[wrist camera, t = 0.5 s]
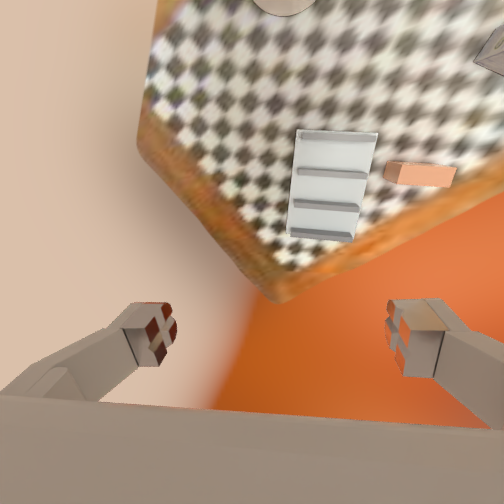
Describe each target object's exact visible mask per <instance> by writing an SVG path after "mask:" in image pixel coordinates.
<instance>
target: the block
mask: <svg viewBox="0 0 504 504" xmlns="http://www.w3.org/2000/svg"><path fill="white" fill-rule="evenodd" d="M456 169H457V168H456V167H450V166H445V165H439V164H432V163H415V162H397V161H387V164H386V168H385V172H384V176H383V178H384V179H387V180H389V181H391V182H394V183H396V184H406V185H421V186H436V187H450V185H451V182H452V180H453V177H454V174H455V172H456Z"/></svg>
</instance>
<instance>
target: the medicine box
mask: <svg viewBox="0 0 504 504" xmlns="http://www.w3.org/2000/svg"><path fill="white" fill-rule="evenodd" d="M474 63H477V64H479V65H481V66H483V67H485V68H487V69H490V70H492V71H494V72H496V73H498V74H501V75H503V76H504V25H502V26H500V27H498V28H496V30H495V31H494V32H493V34H492V35H491V37H490V38H489V40H488V41H487V43H486V44H485V46H484V47H483V49H482V50H481V51H480V53H479V54H478V56H477V57H476V59H475V60H474Z"/></svg>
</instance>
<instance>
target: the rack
mask: <svg viewBox="0 0 504 504" xmlns="http://www.w3.org/2000/svg"><path fill="white" fill-rule="evenodd" d="M377 136H378V133H368V132H345V131H323V130H300V129H297V132H296V141H295V151H294V160H293V169H292V179H291V188H290V197H289V206H288V216H287V225H286V234H291V236H290V237H299V238H310V239H320V240H331V241H342V242H352V240H353V239H354V235H355V230H356V226H357V222H358V218H359V213H360V209H361V205H362V200H363V196H364V192H365V188H366V183H367V179H368V175H369V171H370V166H371V162H372V158H373V153H374V149H375V145H376V141H377Z"/></svg>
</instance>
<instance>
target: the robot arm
mask: <svg viewBox="0 0 504 504" xmlns="http://www.w3.org/2000/svg"><path fill="white" fill-rule="evenodd" d="M253 1H254V2H255V3H256V4H257V5H258V6H259V7H260V8H261V9H262V10H264V11H266V12H267V13H270V14H272V15H276V16H290V15H294V14H297V13H299V12H301V11H303V10H305V9H306V8H308V7H309V6H310V5H311V4H313V3H314V2H315V1H316V0H253ZM386 310H387V312H388V314H389V317H388V318H387V319H386V320H385V336H386V340H387V343H388V345H389V347H390V349H392V350H393V351H395V352H396V353H395V361H396V362H397V365H398V367H399V369H400V371H401V373H402V375H403V376H408V377H424V378H434V379H433V380H435V381H436V382H437V383H438V384H440V385H441V386H442V387H443V388H444V389H445V390H447V391H448V392H449V393H450V394H451V395H452V396H454V397H455V398H456V399H457V400H458V401H460V402H461V403H462V404H463V405H464V406H466V407H467V408H468V409H469V410H470V411H471V412H473V413H474V414H475V415H476V416H477V417H479V418H480V419H481V420H482V421H483V422H485V423H486V424H487V425H488V426H489V427H490V428H492V429H479V428H464V427H450V426H436V425H421V424H407V423H392V422H378V421H365V420H351V419H336V418H322V417H308V416H294V415H281V414H265V413H252V412H238V411H224V410H209V409H195V408H180V407H167V406H151V405H139V404H138V405H137V404H124V403H110V402H98V401H99V400H100V399H101V398H102V397H104V396H105V395H106V394H107V393H108V392H110V391H111V390H112V389H113V388H114V387H116V386H117V385H118V384H119V383H120V382H122V381H123V380H124V379H125V378H126V377H128V376H129V375H130V374H131V373H133V372H134V371H135V370H136V369H137V368H138V367H159V366H160V364H161V363H162V361H163V359H164V357H165V356H166V354H167V349H166V348H167V347H169V346H170V345H171V344H173V342H174V340H175V338H176V334H177V324H176V321H175V319H174V318H173V317H172V316H171V313H172V308H171V305H170V304H169V303H166V302H145V303H144V302H134V303H131V304H130V305H129V306H128V307H127V308H126V309H125V310H124V311H123V312H122V313H121V314H120V315H119V316H118V317H117V318H116V319H115V320H114V321H113V322H112V323H111V324H110V325H109V326H108V327H107V328H106V329H101V330H99V331H97V332H95V333H93V334H91V335H89V336H87V337H85V338H83V339H81V340H79V341H77V342H75V343H73V344H71V345H69V346H67V347H65V348H63V349H61V350H59V351H57V352H56V353H53V354H51V355H49V356H48V357H45V358H43V359H42V360H40V361H38V362H36V363H34V364H32V365H30V366H29V367H28V368H27V369H26V370H25V371H23V372H22V373H21V374H20V375H19V376H18V377H16V378H15V379H14V380H13V381H12V382H11V383H10V384H8V385H7V386H6V387H5V388H4V389H3V390H2V391H0V504H504V344H503V343H501V342H499V341H497V340H495V339H492V338H490V337H488V336H486V335H484V334H482V333H480V332H473V331H471V330H470V329H469V328H468V327H467V326H466V325H465V324H464V323H463V322H462V320H461V319H460V318H459V317H458V316H457V315H456V314H455V313H454V312H453V311H452V310H451V309H450V308H449V306H448V305H447V304H445V302H444V301H443V300H442V299H440V298H425V299H403V300H389V301H388V303H387V309H386Z"/></svg>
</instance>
